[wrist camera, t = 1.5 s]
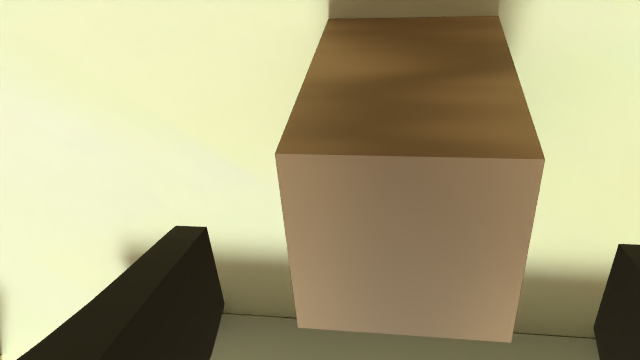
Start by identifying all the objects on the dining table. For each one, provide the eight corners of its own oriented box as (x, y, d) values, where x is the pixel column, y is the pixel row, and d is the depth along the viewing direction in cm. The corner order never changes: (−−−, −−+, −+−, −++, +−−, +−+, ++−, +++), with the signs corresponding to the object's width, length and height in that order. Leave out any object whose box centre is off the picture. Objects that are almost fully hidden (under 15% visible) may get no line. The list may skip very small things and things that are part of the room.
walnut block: (497, 16, 15) (545, 159, 9) (481, 160, 17) (511, 342, 12) (328, 18, 16) (274, 153, 10) (336, 157, 18) (298, 327, 12)
